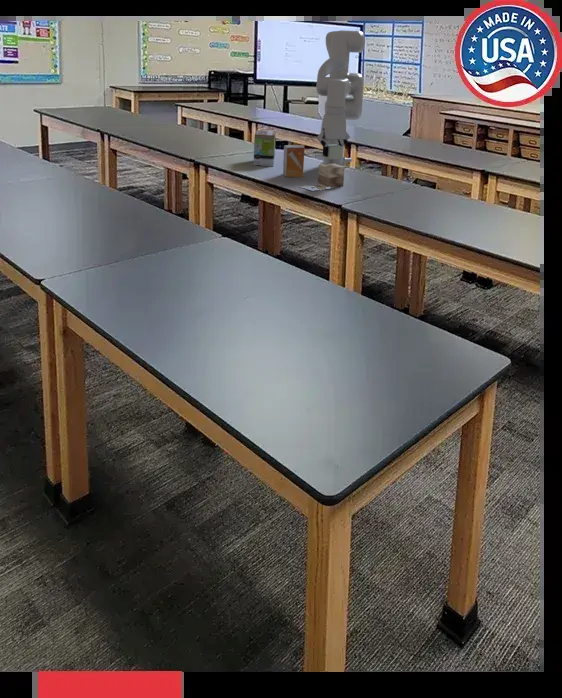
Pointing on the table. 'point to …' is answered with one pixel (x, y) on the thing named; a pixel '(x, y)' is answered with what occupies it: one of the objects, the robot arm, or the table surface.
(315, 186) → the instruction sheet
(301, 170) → the small box
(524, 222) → the table surface
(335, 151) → the sage brick
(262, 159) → the tea box
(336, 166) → the wood-grain cube
